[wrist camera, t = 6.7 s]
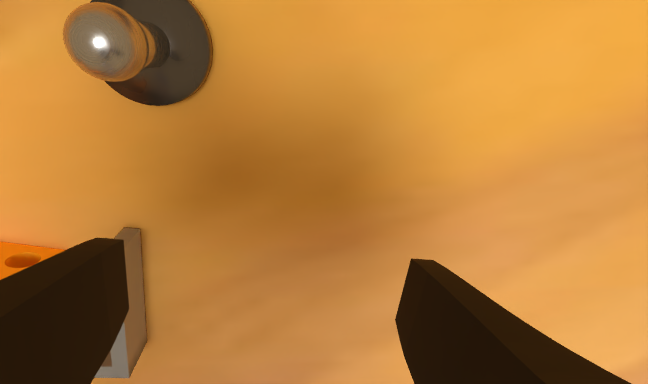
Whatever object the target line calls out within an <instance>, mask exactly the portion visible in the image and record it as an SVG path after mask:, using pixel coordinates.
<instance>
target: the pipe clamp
mask: <svg viewBox="0 0 648 384" xmlns="http://www.w3.org/2000/svg"><path fill="white" fill-rule="evenodd" d="M63 251H65V250H62V249H54V248H46V247H38V246H30V245H23V244H15V243H7V242H0V280H1V279H4V278H6V277H8V276H10V275H12V274H14V273H17V272H19V271H21V270H23V269H25V268H28V267H30V266H32V265H34V264H36V263H39V262H41V261H43V260H45V259H47V258H50V257H52V256H54V255H56V254H58V253H61V252H63Z"/></svg>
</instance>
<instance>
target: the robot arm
mask: <svg viewBox="0 0 648 384" xmlns="http://www.w3.org/2000/svg"><path fill="white" fill-rule="evenodd" d="M128 311H129V299H128V287H127V275H126V263H125V251H124V240H122V239H107V238H94V239H91V240H89V241H86V242H83V243H81V244H79V245H76V246H74V247H72V248H69V249H67V250H65V251H63V252H61V253H58V254H56V255H54V256H52V257H50V258H47V259H45V260H43V261H41V262H39V263H36V264H34V265H32V266H30V267H28V268H25V269H23V270H21V271H19V272H17V273H14V274H12V275H10V276H8V277H6V278H4V279H1V280H0V384H91V382H92V380H93V379H94V377H95V375H96V374H97V372H98V370H99V369H100V367H101V365H102V364H103V362H104V360H105V359H106V357H107V355H108V354H109V352H110V350H111V349H112V347H113V344H114V342H115V340H116V338H117V336H118V334H119V332H120V329H121V327H122V325H123V322H124V320H125V318H126V316H127V313H128ZM395 321H396V325H397V330H398V334H399V338H400V342H401V346H402V350H403V354H404V357H405V360H406V363H407V365H408V368H409V370H410V373H411V376H412V378H413V381H414V384H631V383H629V382H627V381H625V380H623V379H621V378H620V377H618V376H616V375H614V374H612V373H610V372H608V371H606V370H605V369H603V368H601V367H599V366H597V365H596V364H594V363H592V362H590V361H589V360H587V359H585V358H583V357H581V356H580V355H578V354H576V353H574V352H572V351H571V350H569V349H567V348H566V347H564V346H562V345H561V344H559V343H557V342H556V341H554V340H552V339H551V338H549V337H547V336H546V335H544V334H543V333H541V332H540V331H538V330H536V329H535V328H533V327H532V326H530V325H529V324H527V323H525V322H524V321H522V320H521V319H519V318H518V317H516V316H515V315H513V314H512V313H510V312H509V311H507V310H506V309H504V308H503V307H502V306H500V305H499V304H497V303H496V302H494V301H493V300H491V299H490V298H489V297H487V296H486V295H484V294H483V293H481V292H480V291H479V290H477V289H476V288H474V287H473V286H471V285H470V284H469V283H467V282H466V281H464V280H463V279H462V278H460V277H459V276H457V275H456V274H454V273H453V272H451V271H450V270H448V269H447V268H445V267H444V266H442V265H441V264H439V263H437V262H435V261H434V260H424V259H411V261H410V265H409V269H408V273H407V276H406V280H405V284H404V288H403V292H402V296H401V300H400V304H399V307H398V311H397V315H396V319H395Z"/></svg>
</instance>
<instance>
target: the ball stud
mask: <svg viewBox="0 0 648 384" xmlns="http://www.w3.org/2000/svg"><path fill="white" fill-rule="evenodd" d="M63 39H64V44H65V47H66V49H67V52H68V53H69V55H70V57H71V58H72V60H73V61H74V62H75V63H76V64H77V65H78V66H79V67H80V68H81V69H82V70H83V71H85V72H86V73H88V74H90V75H91V76H93V77H96V78H98V79H101V80H104V81H105V82H106V83H107V84H108V85H109V86H111V87H112V88H113V89H114V90H115V91H117V92H118V93H119V94H121V95H123V96H124V97H126V98H128V99H130V100H133V101H135V102H138V103H142V104H146V105H155V106H160V105H168V104H173V103H176V102H178V101H181V100H183V99H185V98H187V97H189V96H191V95H192V94H193V93H195V92H196V91H197V90H198V89H199V88H200V87H201V86H202V84H203V83H204V82H205V80H206V78H207V76H208V74H209V71H210V68H211V64H212V55H213V50H212V41H211V36H210V33H209V30H208V27H207V25H206V23H205V21H204V19H203V17H202V15H201V14H200V12H199V11H198V10H197V8H196V7H195V6H194V5H193V4H192V3H191V2H190V1H189V0H92V1H91V2H90V3H87V4H84V5H81V6H79V7H78V8H76V9H75V10H73V11H72V12H71V13H70V15H69V16H68V18H67V19H66V22H65V24H64V29H63Z"/></svg>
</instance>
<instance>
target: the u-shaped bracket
mask: <svg viewBox="0 0 648 384" xmlns="http://www.w3.org/2000/svg"><path fill="white" fill-rule="evenodd" d="M114 239H122V240H124V251H125V263H126V275H127V287H128V299H129V311H128V313H127V316H126V318H125V320H124V322H123V325H122V327H121V329H120V332H119V334H118V336H117V338H116V340H115V342H114V344H113V347H112V349H111V350H110V352H109V354H108V355H107V357H106V359H105V360H104V362H103V364H102V365H101V367H100V369H99V370H98V372H97V374H96V375H95V377H94V378H129V377H130V375H131V373H132V371H133V369H134V367H135V365H136V363H137V361H138V359H139V357H140V355H141V353H142V351H143V349H144V347H145V345H146V343H147V334H146V318H145V302H144V286H143V270H142V254H141V238H140V229H136V228H123V229H122V230H121V231H120V232H119V233H118V235H117V236H116V237H115V238H114Z"/></svg>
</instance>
